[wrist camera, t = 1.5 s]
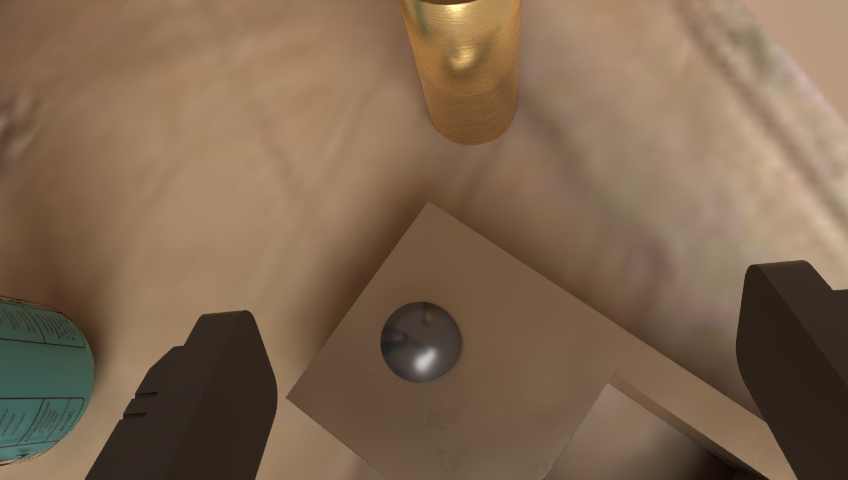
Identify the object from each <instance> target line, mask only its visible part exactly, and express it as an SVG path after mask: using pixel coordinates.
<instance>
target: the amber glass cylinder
mask: <svg viewBox="0 0 848 480" xmlns="http://www.w3.org/2000/svg"><path fill="white" fill-rule="evenodd" d="M399 3H400V7H401V10H402V14H403V18H404V21H405V25H406V29H407V32H408V36H409V40H410V44H411V47H412V51H413V55H414V58H415V62H416V66H417V70H418V73H419V77H420V81H421V84H422V88H423V92H424V96H425V99H426V103H427V107H428V110H429V114H430V118H431V120H432V123H433V124H434V126H435V128H436V129H437V130H438V131H439V132H440V133H441V134H442V135H443V136H444V137H446V138H447V139H449V140H451V141H453V142H456V143H459V144H464V145H478V144H483V143H486V142H489V141H491V140H493V139H495V138H497V137H498V136H500V135H501V134H502V133H503V132H504V131H505V130H506V129H507V128H508V127H509V125H510V124H511V122H512V121H513V118H514V116H515V113H516V108H517V89H518V65H519V40H520V15H521V0H399Z"/></svg>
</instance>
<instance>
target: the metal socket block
mask: <svg viewBox="0 0 848 480" xmlns="http://www.w3.org/2000/svg"><path fill="white" fill-rule="evenodd" d="M607 382H608V383H609V384H611V385H612V386H614V387H615V388H617V389H618V390H620V391H621V392H623V393H624V394H626V395H627V396H628V397H630V398H631V399H633V400H634V401H636V402H637V403H639V404H640V405H642V406H643V407H645V408H646V409H647V410H649V411H650V412H652V413H653V414H655V415H656V416H658V417H659V418H661V419H662V420H664V421H665V422H666V423H668V424H669V425H671V426H672V427H674V428H675V429H677V430H678V431H680V432H681V433H683V434H684V435H685V436H687V437H688V438H690V439H691V440H693V441H694V442H696V443H697V444H699V445H700V446H702V447H703V448H704V449H706V450H707V451H709V452H710V453H712V454H713V455H715V456H716V457H718V458H719V459H721V460H722V461H723V462H725V463H726V464H728V465H729V466H731V467H732V468H734V469H735V470H736V472H735V473H734V475H733V477H732V478H731V480H798V479H797V478H796V476H795V474H794V472H793V470H792V469H791V467H790V465H789V463H788V461H787V459H786V458H785V456H784V454H783V452H782V450H781V448H780V447H779V445H778V443H777V441H776V439H775V438H774V436H773V434H772V432H771V430H770V428H769V427H768V425H767V423H766V422H764V421H763V420H761V419H760V418H758V417H757V416H755V415H754V414H752V413H751V412H749V411H748V410H746V409H745V408H743V407H742V406H740V405H739V404H737V403H736V402H734V401H732V400H731V399H729V398H728V397H726V396H725V395H723V394H722V393H720V392H719V391H717V390H716V389H714V388H713V387H711V386H710V385H708V384H707V383H705V382H704V381H702V380H701V379H699V378H698V377H696V376H694V375H693V374H691V373H690V372H688V371H687V370H685V369H684V368H682V367H681V366H679V365H678V364H676V363H675V362H673V361H672V360H670V359H669V358H667V357H666V356H664V355H663V354H661V353H659V352H658V351H656V350H655V349H653V348H652V347H650V346H649V345H647V344H646V343H644V342H643V341H641V340H640V339H638V338H637V337H635V336H634V335H632V334H631V333H629V332H628V331H626V330H625V329H623V328H621V327H620V326H618V325H617V324H615V323H614V322H612V321H611V320H609V319H608V318H606V317H605V316H603V315H602V314H600V313H599V312H597V311H596V310H594V309H593V308H591V307H590V306H588V305H587V304H585V303H583V302H582V301H580V300H579V299H577V298H576V297H574V296H573V295H571V294H570V293H568V292H567V291H565V290H564V289H562V288H561V287H559V286H558V285H556V284H555V283H553V282H552V281H550V280H549V279H547V278H545V277H544V276H542V275H541V274H539V273H538V272H536V271H535V270H533V269H532V268H530V267H529V266H527V265H526V264H524V263H523V262H521V261H520V260H518V259H517V258H515V257H514V256H512V255H510V254H509V253H507V252H506V251H504V250H503V249H501V248H500V247H498V246H497V245H495V244H494V243H492V242H491V241H489V240H488V239H486V238H485V237H483V236H482V235H480V234H479V233H477V232H476V231H474V230H472V229H471V228H469V227H468V226H466V225H465V224H463V223H462V222H460V221H459V220H457V219H456V218H454V217H453V216H451V215H450V214H448V213H447V212H445V211H444V210H442V209H441V208H439V207H438V206H436V205H434V204H433V203H431V202H430V201H428V202H427V204H426V205H425V206H424V208H423V209H422V210H421V212H420V213H419V215H418V216H417V217H416V219H415V220H414V221H413V223H412V224H411V226H410V227H409V228H408V230H407V231H406V232H405V234H404V235H403V237H402V238H401V239H400V241H399V242H398V244H397V245H396V246H395V248H394V249H393V250H392V252H391V253H390V255H389V256H388V257H387V259H386V260H385V261H384V263H383V264H382V266H381V267H380V268H379V270H378V271H377V272H376V274H375V275H374V277H373V278H372V279H371V281H370V282H369V283H368V285H367V286H366V288H365V289H364V290H363V292H362V293H361V295H360V296H359V297H358V299H357V300H356V301H355V303H354V304H353V306H352V307H351V308H350V310H349V311H348V312H347V314H346V315H345V317H344V318H343V319H342V321H341V322H340V323H339V325H338V326H337V328H336V329H335V330H334V332H333V333H332V334H331V336H330V337H329V339H328V340H327V341H326V343H325V344H324V345H323V347H322V348H321V350H320V351H319V352H318V354H317V355H316V357H315V358H314V359H313V361H312V362H311V363H310V365H309V366H308V368H307V369H306V370H305V372H304V373H303V374H302V376H301V377H300V379H299V380H298V381H297V383H296V384H295V385H294V387H293V388H292V390H291V391H290V392H289V394H288V395H287V396H286V398H287V399H288V400H289V401H290V402H292V403H293V404H294V405H296V406H297V407H298V408H299V409H301V410H302V411H303V412H304V413H306V414H307V415H308V416H309V417H311V418H312V419H313V420H314V421H316V422H317V423H318V424H319V425H321V426H322V427H323V428H324V429H326V430H327V431H328V432H329V433H331V434H332V435H333V436H334V437H336V438H337V439H338V440H339V441H341V442H342V443H343V444H344V445H346V446H347V447H348V448H349V449H351V450H352V451H353V452H355V453H356V454H357V455H358V456H360V457H361V458H362V459H363V460H365V461H366V462H367V463H368V464H370V465H371V466H372V467H373V468H375V469H376V470H377V471H378V472H380V473H381V474H382V475H383V476H385V477H386V478H387V479H388V480H544V478H545V477H546V475H547V474H548V472H549V471H550V469H551V468H552V466H553V464H554V463H555V461H556V460H557V458H558V457H559V455H560V454H561V452H562V451H563V449H564V448H565V446H566V445H567V443H568V442H569V440H570V439H571V437H572V435H573V434H574V432H575V431H576V429H577V428H578V426H579V425H580V423H581V422H582V420H583V419H584V417H585V416H586V414H587V413H588V411H589V410H590V408H591V406H592V405H593V403H594V402H595V400H596V399H597V397H598V396H599V394H600V393H601V391H602V390H603V388H604V387H605V385H606V384H607Z"/></svg>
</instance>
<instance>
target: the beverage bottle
mask: <svg viewBox="0 0 848 480" xmlns="http://www.w3.org/2000/svg"><path fill="white" fill-rule="evenodd" d="M1 297H5V296H1ZM6 298H10V297H6ZM12 299H16V298H12ZM17 300H18V301H20V300H21V299H17ZM17 300H16V301H17ZM11 301H12V300H11ZM13 301H14V300H13ZM21 301H22V300H21ZM23 301H26V300H23ZM28 302H29V301H28ZM34 304H35V303H34ZM38 304H40V303H38ZM42 305H43V304H42ZM45 305H46V304H45ZM45 305H44V306H45ZM48 306H49V305H48ZM50 307H51V306H50ZM55 309H56V308H55ZM56 310H57V309H56ZM58 311H59V310H58ZM59 313H60V312H55V311H52V310H50V309H46V308H43V307H38V306H32V305H26V304H21V303H19V302H17V303H15V302H10V301H4V300H2V299H0V462H2V461H8V460H15V459H18V460H19V459H22V458H26V457H28V458H27V459H29V458H30V456H31V457H33V455H36V454H38V453H41V452H43V451H45V450H46V449H48V448H49V449H50V447H51V446H52V447H53V446H54V445H56V444H57V443H58V442H59V441H60V440H61V439H63V438H64V437H65V436H66V435H67V434H68V433H69V432H70V431H71V430H72V429H73V428H74V427H75V425H76V424H77V423H78V421H79V420H80V418H81V417H82V415H83V413H84V412H85V410H86V408H87V406H88V403H89V401H90V398H91V394H92V391H93V385H94V377H95V367H94V359H93V354H92V351H91V348H90V345H89V343H88V341H87V339H86V338H85V336H84V335H83V333H82V332H81V331H80V330H79V328H78V327H77V326H76V325H75V324H74V323H73V322H72V321H71V320H70V319H69V318H68V317H67V316H66V315H65V314H64V315H65V316H66V317H67V318H68V319H69V320H68V319H67V318H65V317H64V316H62V315H60V314H59ZM61 313H62V312H61ZM62 314H63V313H62ZM52 447H51V448H52ZM49 449H48V450H49ZM48 450H47V451H48ZM45 452H46V451H45ZM45 452H44V453H45ZM42 454H43V453H42ZM40 455H41V454H40ZM37 457H38V456H37ZM32 459H33V458H32ZM30 460H31V459H30ZM16 461H17V460H16ZM14 462H15V461H14ZM20 462H21V461H20ZM24 462H25V461H24ZM11 463H13V462H11ZM16 463H17V462H16ZM13 464H14V463H13ZM4 465H10V463H5V464H0V466H4Z"/></svg>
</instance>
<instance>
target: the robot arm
mask: <svg viewBox="0 0 848 480" xmlns="http://www.w3.org/2000/svg"><path fill="white" fill-rule="evenodd" d="M736 355H737V361H738V366H739V370H740V373H741V376H742V378H743V381H744V383H745V385H746V386H747V388H748V390H749V392H750V394H751V396H752V397H753V399H754V401H755V403H756V405H757V406H758V408H759V410H760V412H761V414H762V416H763V417H764V419H765V421H766V423H767V425H768V427H769V428H770V430H771V432H772V434H773V436H774V438H775V439H776V441H777V443H778V445H779V447H780V448H781V450H782V452H783V454H784V456H785V458H786V459H787V461H788V463H789V465H790V467H791V469H792V470H793V472H794V474H795V476H796V478H797V479H798V480H848V290H847V289H845V290H834V291H833V290H832V289H831V287H830V286H829V285H828V284H827V283H826V282H825V280H824V279H823V278H822V277H821V276H820V275H819V274H818V272H817V271H816V270H815V269H814V268H813V267H812V265H811V264H809V263H808V262H807V261H804V260H798V261H787V262H777V263H766V264H755V265H751V266H749V268H748V269H747V271H746V274H745V280H744V287H743V294H742V302H741V309H740V316H739V324H738V331H737V338H736ZM276 409H277V384H276V379H275V376H274V373H273V370H272V367H271V364H270V361H269V358H268V356H267V353H266V350H265V347H264V344H263V341H262V338H261V335H260V333H259V330H258V327H257V324H256V321H255V319H254V317H253V315H252V314H251V312H249V311H247V310H243V311H232V312H222V313H211V314H203V315H202V316H201V317H200V318H199V319H198V321H197V322H196V324H195V326H194V328H193V330H192V332H191V333H190V335H189V337H188V339H187V341H186V343H185V344H184V346H176V347H173V348H172V349H171V350H170V351H169V352H167V353H166V354H165V355H164V356H163V357H162V358H161V359H160V360H159V361H158V362H157V363H155V364H154V365H153V366H152V367H151V368H150V369H149V371H148V372H147V374H146V376H145V377H144V379H143V381H142V383H141V384H140V386H139V388H138V389H137V391H136V393H135V399H132V400H131V401H130V403H129V405H128V406H127V408H126V410H125V411H124V413H123V420H119V422H118V423H117V425H116V427H115V429H114V430H113V432H112V434H111V435H110V437H109V439H108V440H107V442H106V444H105V446H104V447H103V449H102V451H101V452H100V454H99V456H98V457H97V459H96V461H95V463H94V464H93V466H92V468H91V469H90V471H89V473H88V474H87V476H86V478H85V480H255V478H256V475H257V471H258V468H259V465H260V462H261V459H262V456H263V452H264V449H265V446H266V443H267V440H268V437H269V433H270V430H271V427H272V424H273V421H274V418H275V414H276Z"/></svg>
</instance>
